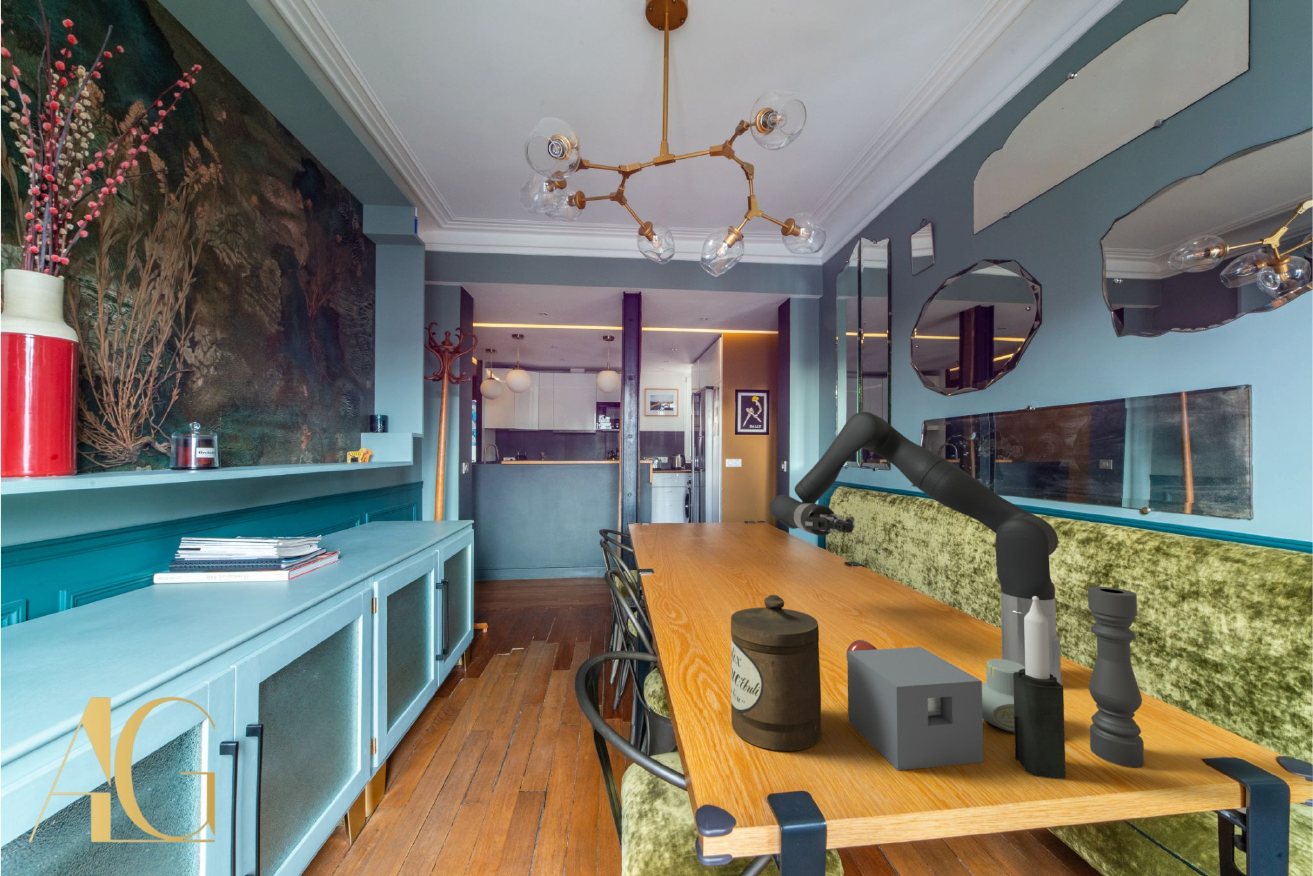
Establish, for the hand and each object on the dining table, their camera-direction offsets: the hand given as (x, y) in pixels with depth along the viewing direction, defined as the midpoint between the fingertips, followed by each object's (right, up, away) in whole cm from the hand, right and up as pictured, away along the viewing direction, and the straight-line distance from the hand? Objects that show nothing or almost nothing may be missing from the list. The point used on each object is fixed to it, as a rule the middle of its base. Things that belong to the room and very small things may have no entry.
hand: (849, 528), depth 114 cm
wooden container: (-23, -29, -27) cm, 46 cm away
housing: (-2, -29, -31) cm, 42 cm away
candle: (+14, -29, -38) cm, 50 cm away
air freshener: (+18, -29, -26) cm, 43 cm away
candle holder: (+28, -29, -35) cm, 53 cm away
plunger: (-2, -24, -26) cm, 35 cm away
